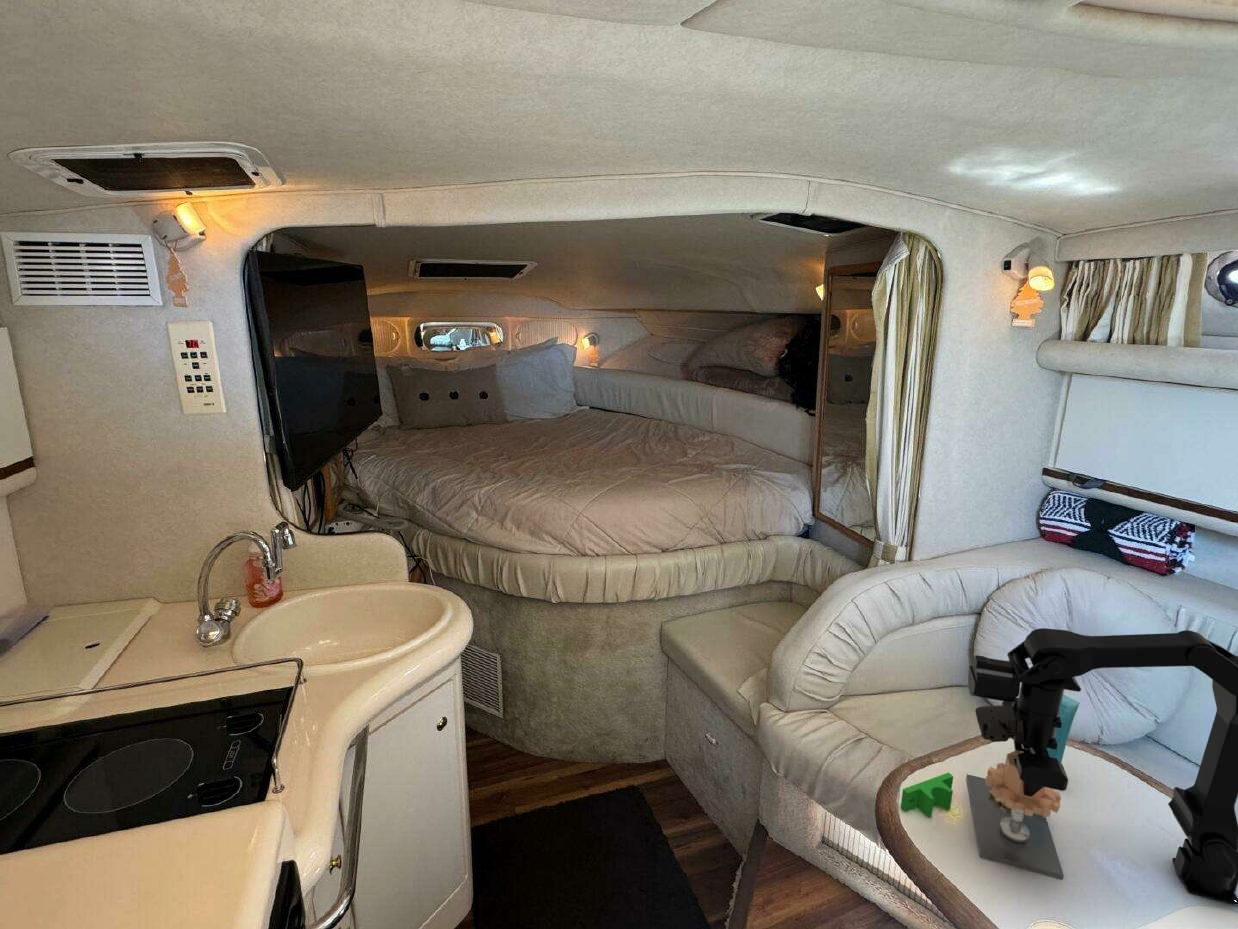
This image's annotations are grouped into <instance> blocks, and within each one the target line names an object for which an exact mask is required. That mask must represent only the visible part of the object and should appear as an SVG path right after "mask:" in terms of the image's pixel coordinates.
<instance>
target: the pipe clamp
mask: <svg viewBox="0 0 1238 929" xmlns="http://www.w3.org/2000/svg"><path fill="white" fill-rule="evenodd" d="M953 782H954V775H953V774H951V773H950V772H946V773H943V774H941V775H937V776H935V777H932V778H930V779H927V780H924V781H921V782H919V783H916V784H913V785H910V786H907V787H905V788H902V793H901V794H902V795H901V802H900V809H901V810H902V811H903V812H904V813H907V812H909V811H912V810H914V809H918V810H920V812H922V813H923V814H924V816H926V817H927V818H928V819H929V818H932V817H933V810H934V807H940V808H942V809H944V810H945V811H947V812H948V811H950V810H951V805H952V798H953V794H954V790H953V789H952V788H953Z"/></svg>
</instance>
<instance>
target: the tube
mask: <svg viewBox="0 0 1238 929" xmlns="http://www.w3.org/2000/svg"><path fill="white" fill-rule="evenodd" d="M1079 706H1080V701H1078V700H1075V699H1074V698H1072V697H1070V696H1068V695H1066V694H1065V693H1063V698H1062V703H1061V708H1060V713H1059V717H1060V719H1061V722H1062V726H1061V728H1056V732H1055V739H1056V742H1057V744H1058V745H1057V750H1055V749H1051V748H1047V751H1048V754H1049V756H1050V757H1052V758H1057V759H1058V760H1059V761H1060V762H1061V763H1062V762H1063V758H1064V753H1065V750H1066V746H1067V743H1068V739H1069V734H1070V732H1071V728H1072V725H1073V722H1074V719H1075V716H1076V713H1077V711H1078V709H1079Z"/></svg>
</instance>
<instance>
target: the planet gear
mask: <svg viewBox="0 0 1238 929" xmlns="http://www.w3.org/2000/svg"><path fill="white" fill-rule="evenodd" d="M1021 753H1023V752H1022V751H1018V750H1016V751H1015V750H1014V751H1011V752H1008V753H1006V756H1005V757H1006V758H1005V763H1003V762H999V763H996V764H997V765H996V768H994V767H992V766H989V768H988V769H987V773H986V777H985V779H986V785H987V786H991V787H992V790H991V794H992V795H993V796H994V797H995V798H1002V799H1003V800H1004V801H1005V802H1006V804H1005V806H1007V807H1008V808H1010V809H1013V808H1015V809H1019V810H1023V811H1024V815H1028V816H1033V813H1035V814H1039V815H1042V816H1043V817H1046V818H1048V817H1049V818H1050V816H1051V812H1054V813H1056V814H1057V813H1058V812H1059V811H1060V807H1061V800H1062V799H1061V798H1062V796H1061V793H1060V792H1059V791H1055V790H1054V789H1052V788H1047V787H1043V788H1042V789H1041V790H1039V791H1038V792H1037V793H1035V794H1034V795H1033V796H1026V795H1024V792H1023V781H1022V780H1021V779H1020V777H1019V774H1018V770H1017V768H1016V765H1015V761H1014V759H1017V755H1018V754H1021Z"/></svg>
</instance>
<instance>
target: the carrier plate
mask: <svg viewBox="0 0 1238 929" xmlns="http://www.w3.org/2000/svg"><path fill="white" fill-rule="evenodd" d="M965 780H966V785H967V793H968V796H969V797H968V798H969V803H970V809H971V815H972V821H973V827H974V832H975V837H976V838H975V840H976V844H977V851H978V857H979V858H980V859H981V858H982V859H984V860H988V861H989V860H990V861H992V862H997V863H1000V864H1003V865H1007V866H1010V867H1013V868H1017V869H1021V870H1025V871H1028V872H1033V873H1036V874H1038V875H1039V874H1040V875H1043V876H1047V877H1051V878H1055V879H1058V880H1062V881H1063V880H1064V877H1065V874H1064V871H1063V868H1062V865H1061V862H1060V858H1059V856H1058V855H1059V854H1058V853H1057V849H1056V845H1055V842H1054V839H1053V836H1052V832H1051V828H1050V826H1049V823H1048V819H1047V817H1043V816H1042V815H1039V814H1035V813H1033V816H1028V815H1024V811H1023V810H1019V809H1015V808H1013V809H1010V808H1008V807H1007V806H1005V804H1006V802H1005V801H1004V800H1003V799H1002V798H995V797H994V796H993V795H992V794H991V790H992V787H991V786H987V785H986V777H985V778H984V777H981V776H976V775H971V774H967V773H966V776H965Z"/></svg>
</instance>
